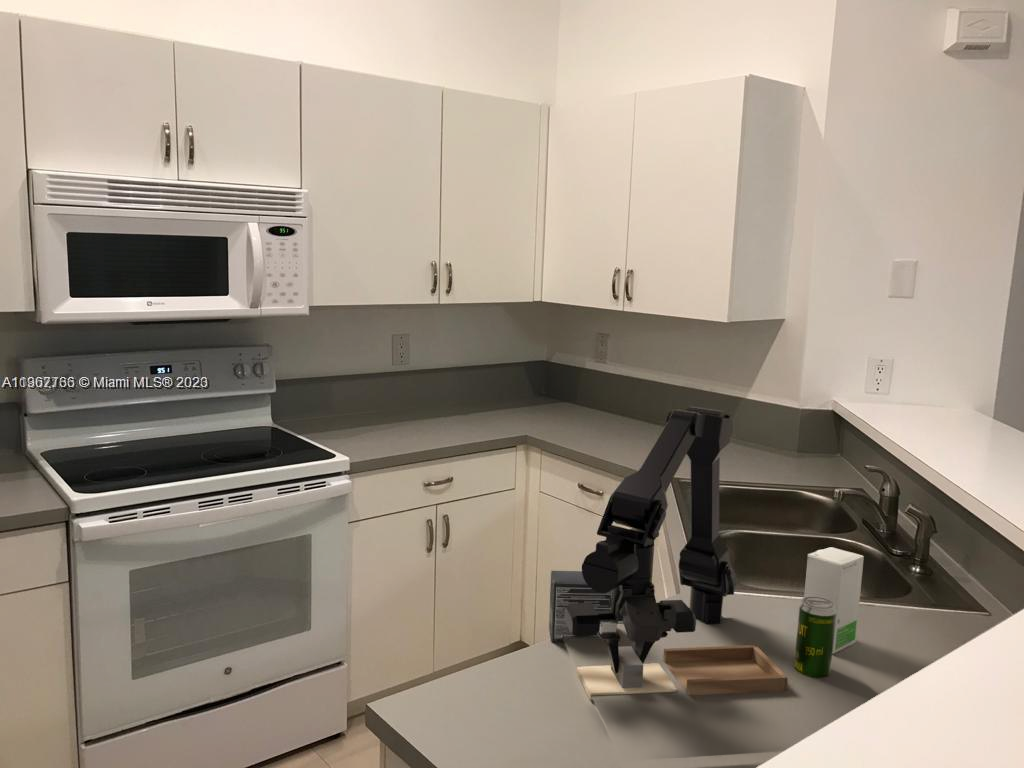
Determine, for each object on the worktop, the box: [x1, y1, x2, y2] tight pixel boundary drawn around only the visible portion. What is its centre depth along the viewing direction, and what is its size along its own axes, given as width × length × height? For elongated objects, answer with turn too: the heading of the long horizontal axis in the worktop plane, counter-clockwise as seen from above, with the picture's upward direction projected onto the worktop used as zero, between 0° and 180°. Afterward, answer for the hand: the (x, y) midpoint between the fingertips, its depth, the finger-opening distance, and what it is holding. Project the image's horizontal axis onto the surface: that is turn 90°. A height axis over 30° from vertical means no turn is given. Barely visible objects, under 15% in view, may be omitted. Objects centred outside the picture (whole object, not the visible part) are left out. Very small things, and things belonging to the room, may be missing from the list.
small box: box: [548, 570, 612, 644], centre depth 142 cm, size 11×6×10 cm, turn 92°
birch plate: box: [576, 645, 678, 701], centre depth 126 cm, size 8×13×4 cm, turn 100°
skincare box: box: [803, 546, 865, 655], centre depth 143 cm, size 8×7×16 cm
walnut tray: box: [662, 644, 789, 696], centre depth 129 cm, size 11×15×3 cm
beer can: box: [793, 596, 836, 679], centre depth 131 cm, size 5×5×12 cm
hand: (626, 671), depth 126 cm, fingers closed on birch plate, 3 cm apart
